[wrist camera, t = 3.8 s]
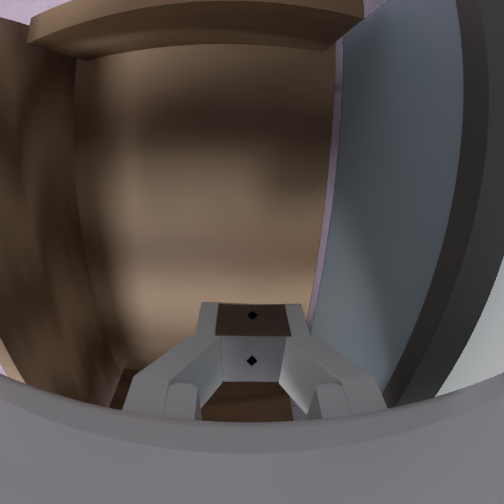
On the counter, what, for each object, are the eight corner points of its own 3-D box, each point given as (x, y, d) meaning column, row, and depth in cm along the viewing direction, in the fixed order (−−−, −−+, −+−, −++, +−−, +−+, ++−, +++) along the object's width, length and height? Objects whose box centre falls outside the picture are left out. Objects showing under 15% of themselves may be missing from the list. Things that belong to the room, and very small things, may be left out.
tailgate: (340, 34, 10) (463, -51, 2) (368, 41, 10) (506, -19, 2) (295, 387, 19) (316, 504, 11) (315, 386, 19) (342, 499, 11)
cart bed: (86, 57, 12) (-47, 26, 2) (319, 48, 13) (425, -38, 3) (118, 349, 21) (74, 460, 11) (287, 359, 22) (308, 485, 12)
